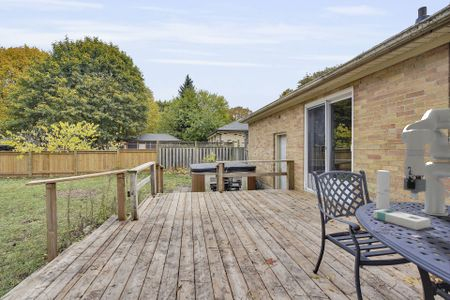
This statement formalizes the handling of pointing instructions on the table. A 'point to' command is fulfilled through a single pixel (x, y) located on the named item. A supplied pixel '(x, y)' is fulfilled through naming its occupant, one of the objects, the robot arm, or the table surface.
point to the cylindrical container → (383, 189)
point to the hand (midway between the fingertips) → (414, 188)
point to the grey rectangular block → (416, 187)
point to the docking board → (402, 219)
